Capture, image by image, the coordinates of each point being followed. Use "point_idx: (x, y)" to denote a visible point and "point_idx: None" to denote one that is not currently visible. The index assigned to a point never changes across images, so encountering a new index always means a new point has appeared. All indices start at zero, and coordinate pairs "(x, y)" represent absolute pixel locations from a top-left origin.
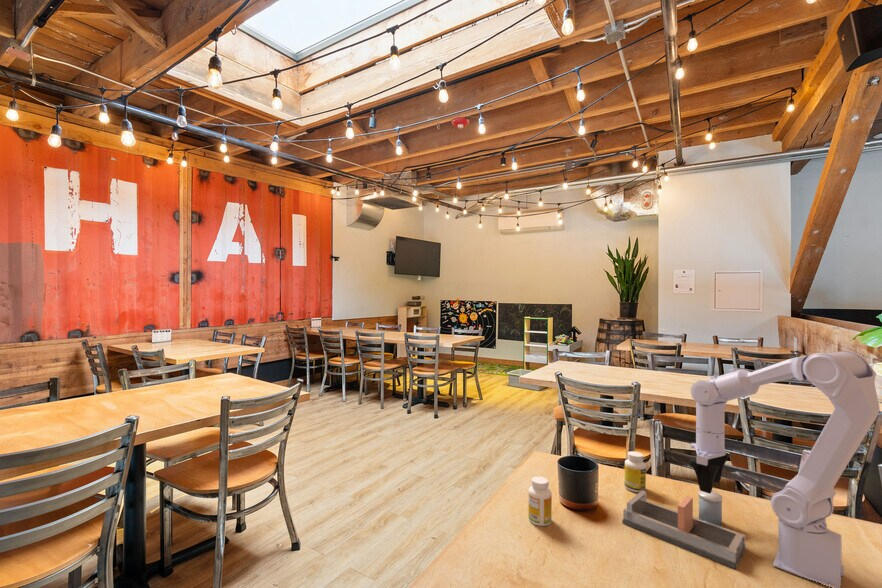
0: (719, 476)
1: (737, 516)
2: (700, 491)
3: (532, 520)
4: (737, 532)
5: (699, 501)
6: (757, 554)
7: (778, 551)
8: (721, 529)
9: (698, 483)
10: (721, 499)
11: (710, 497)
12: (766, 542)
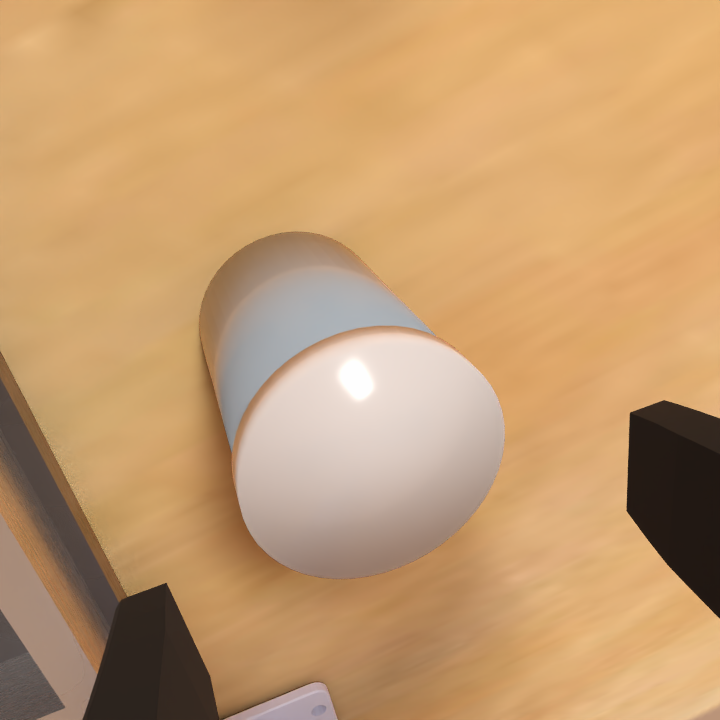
0: (707, 589)
1: (568, 359)
2: (360, 370)
3: None
4: None
5: (258, 348)
6: None
7: (270, 713)
8: (20, 632)
9: (92, 697)
10: (376, 566)
11: (296, 519)
12: (351, 609)
